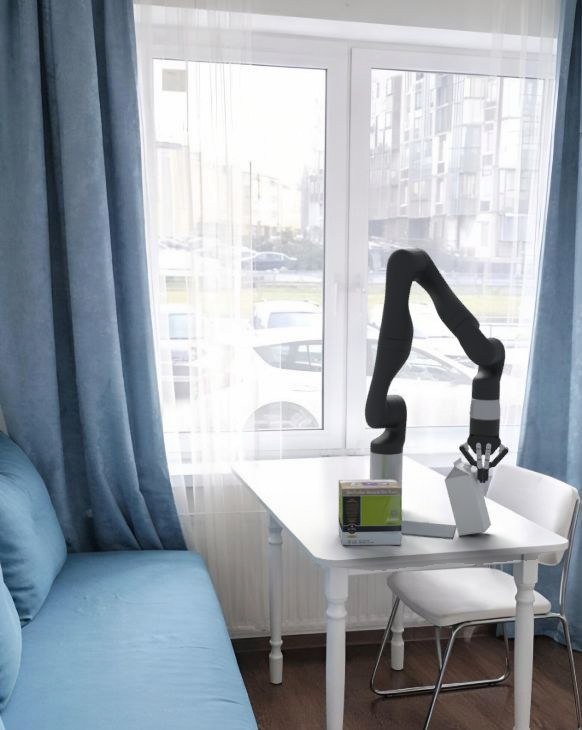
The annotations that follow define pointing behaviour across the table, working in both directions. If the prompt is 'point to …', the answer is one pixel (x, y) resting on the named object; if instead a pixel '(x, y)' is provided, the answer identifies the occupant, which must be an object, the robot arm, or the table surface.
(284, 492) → the table surface
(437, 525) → the mat
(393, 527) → the tea box
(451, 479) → the milk carton
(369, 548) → the table surface
